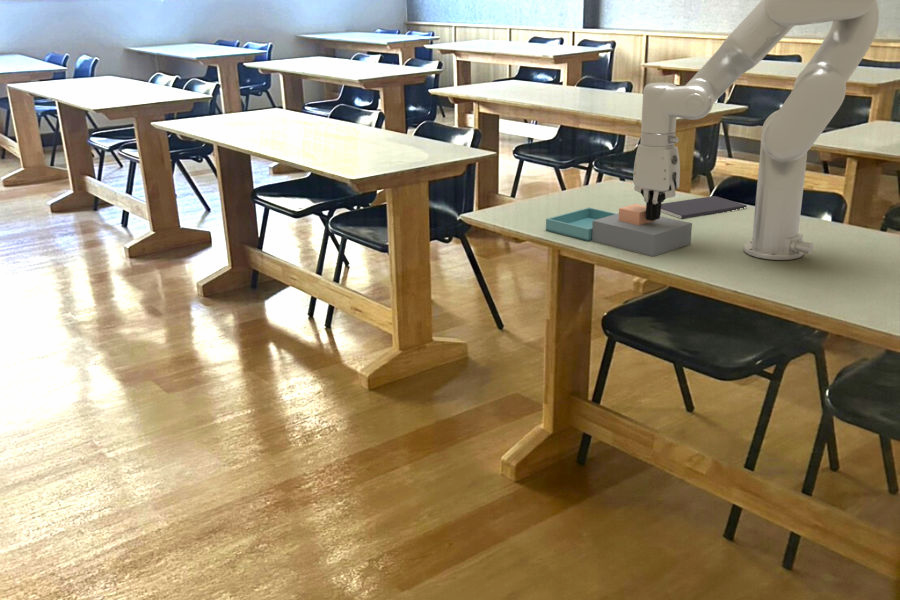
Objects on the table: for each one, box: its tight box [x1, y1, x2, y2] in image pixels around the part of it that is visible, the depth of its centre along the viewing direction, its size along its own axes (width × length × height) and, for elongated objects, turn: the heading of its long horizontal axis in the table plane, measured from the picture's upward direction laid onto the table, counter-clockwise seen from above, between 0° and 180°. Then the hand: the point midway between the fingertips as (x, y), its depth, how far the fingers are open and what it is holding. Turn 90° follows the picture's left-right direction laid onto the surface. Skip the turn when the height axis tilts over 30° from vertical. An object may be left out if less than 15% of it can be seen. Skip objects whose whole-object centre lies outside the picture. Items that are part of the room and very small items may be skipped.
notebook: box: [661, 195, 747, 220], centre depth 232 cm, size 13×2×21 cm
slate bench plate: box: [591, 212, 693, 257], centre depth 204 cm, size 18×14×5 cm
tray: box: [545, 207, 617, 242], centre depth 216 cm, size 14×16×3 cm
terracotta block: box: [618, 203, 655, 225], centre depth 204 cm, size 6×6×3 cm
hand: (652, 219), depth 200 cm, fingers closed
